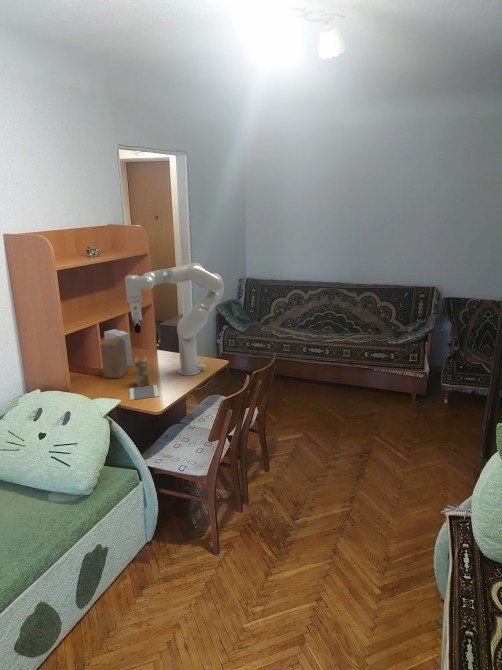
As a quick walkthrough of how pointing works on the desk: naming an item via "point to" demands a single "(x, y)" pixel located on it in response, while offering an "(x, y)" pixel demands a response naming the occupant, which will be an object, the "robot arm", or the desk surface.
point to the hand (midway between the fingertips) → (137, 331)
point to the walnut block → (141, 372)
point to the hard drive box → (123, 335)
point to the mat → (144, 392)
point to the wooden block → (114, 358)
